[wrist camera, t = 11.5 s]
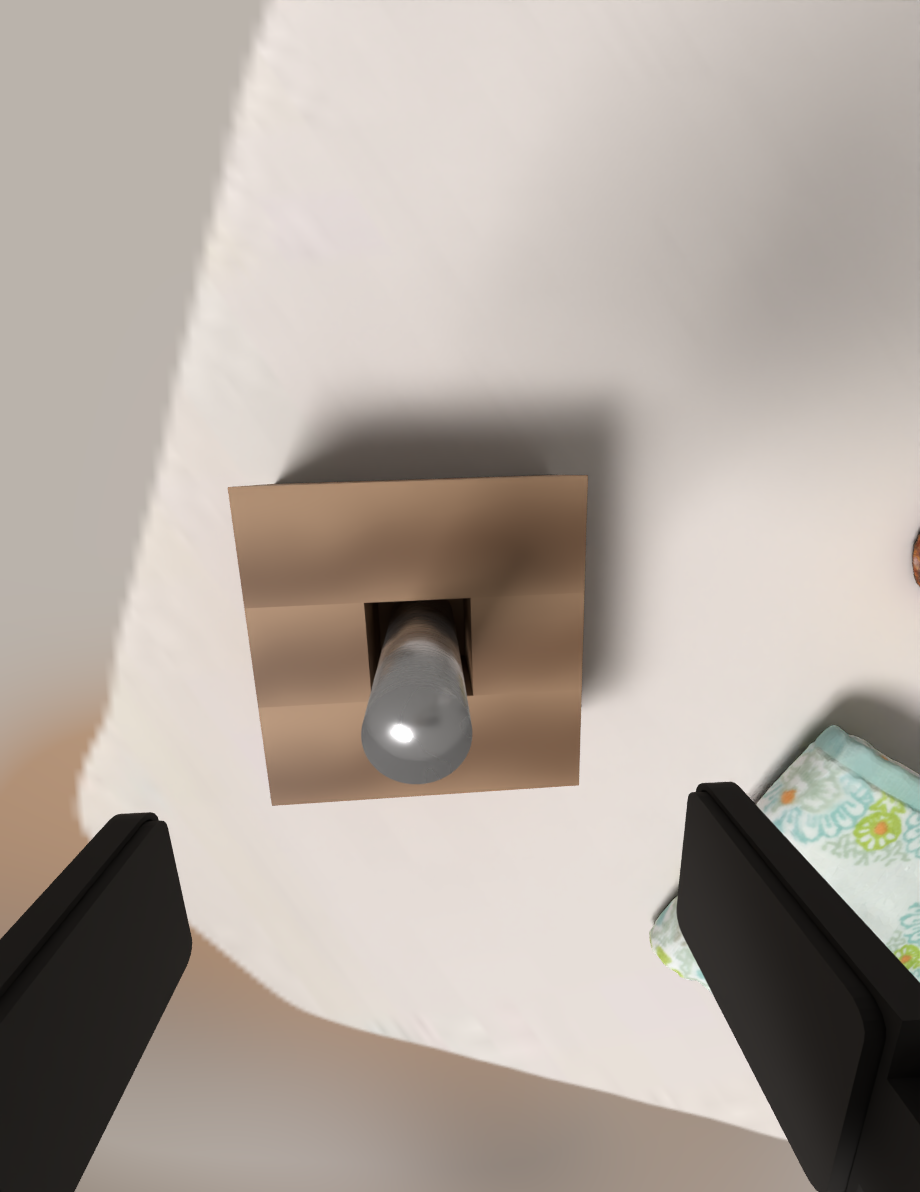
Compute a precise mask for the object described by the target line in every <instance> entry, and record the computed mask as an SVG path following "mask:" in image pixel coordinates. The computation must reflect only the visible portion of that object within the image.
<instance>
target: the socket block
mask: <svg viewBox="0 0 920 1192" xmlns="http://www.w3.org/2000/svg"><path fill="white" fill-rule="evenodd" d="M587 486H588V475H532V476H501V477H471V478H441V479H410V480H380V481H349V482H319V483H289V484H267V485H253V486H239V487H228V493H229V500H230V507H231V515H232V522H233V529H234V536H235V543H236V551H237V558H238V565H239V572H240V579H241V586H242V594H243V601H244V608H245V615H246V622H247V629H248V637H249V644H250V651H251V658H252V665H253V672H254V680H255V687H256V694H257V701H258V708H259V716H260V723H261V730H262V737H263V744H264V751H265V759H266V766H267V773H268V780H269V787H270V794H271V802H272V806H276V805H290V804H305V803H320V802H335V801H350V800H365V799H380V798H395V797H410V796H425V795H440V794H455V793H470V792H485V791H500V790H515V789H530V788H545V787H560V786H575V785H579V761H580V727H581V693H582V658H583V624H584V589H585V555H586V520H587ZM437 599H447V600H448V601H449V603H450V605H451V607H452V611H453V616H454V622H455V628H456V634H457V640H458V646H459V652H460V658H461V664H462V670H463V676H464V682H465V688H466V694H467V700H468V706H469V712H470V718H471V724H472V742H471V747H470V749H469V752H468V754H467V756H466V758H465V759H464V761H463V762H462V764H461V765H460V766H459V767H458V768H457V769H456V770H455V771H453V772H452V773H451V774H449V775H448V776H446V777H444V778H442V779H440V780H437V781H435V782H431V783H426V784H406V783H401V782H398V781H395V780H392V779H390V778H388V777H386V776H385V775H383V774H382V773H380V772H379V771H378V770H377V769H376V768H375V767H374V766H373V765H372V764H371V763H370V761H369V760H368V758H367V756H366V754H365V752H364V749H363V746H362V741H361V729H362V724H363V720H364V716H365V712H366V708H367V705H368V701H369V697H370V693H371V690H372V686H373V682H374V678H375V674H376V671H377V667H378V663H379V659H380V655H381V652H382V648H383V644H384V640H385V637H386V633H387V629H388V625H389V621H390V618H391V614H392V610H393V607H394V605H395V603H396V601H415V600H437Z"/></svg>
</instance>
